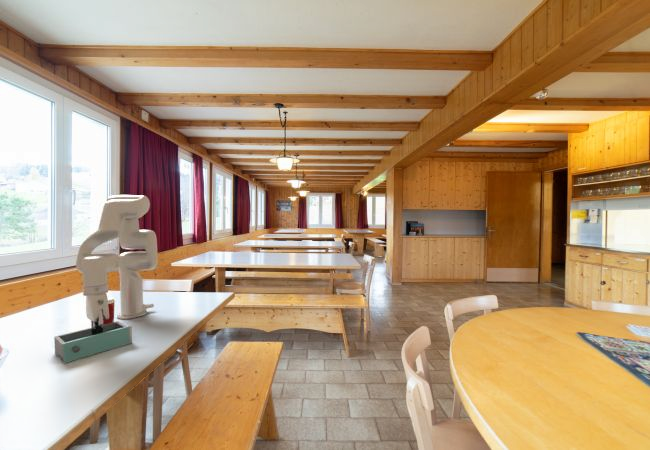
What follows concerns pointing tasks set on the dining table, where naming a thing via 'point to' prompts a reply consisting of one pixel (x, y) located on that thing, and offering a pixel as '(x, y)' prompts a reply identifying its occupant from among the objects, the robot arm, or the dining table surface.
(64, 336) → the case
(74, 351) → the green drawer with knob
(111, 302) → the paper cup
